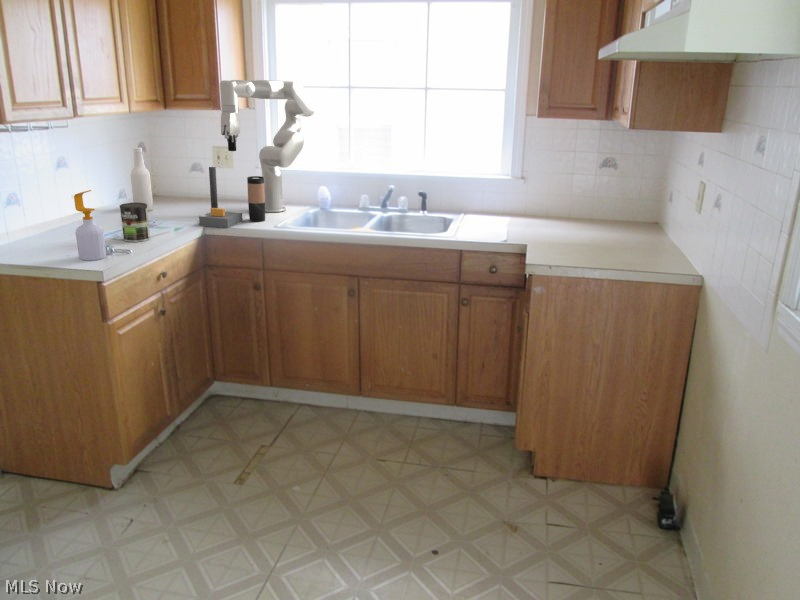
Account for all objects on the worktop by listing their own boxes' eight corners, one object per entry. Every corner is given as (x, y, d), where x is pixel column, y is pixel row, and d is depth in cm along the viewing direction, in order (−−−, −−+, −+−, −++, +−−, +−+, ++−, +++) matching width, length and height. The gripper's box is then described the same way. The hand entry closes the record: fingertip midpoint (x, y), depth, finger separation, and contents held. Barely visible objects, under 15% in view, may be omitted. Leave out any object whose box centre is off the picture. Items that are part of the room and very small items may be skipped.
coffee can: (142, 243, 256) (138, 208, 251) (118, 241, 257) (114, 206, 252) (155, 237, 266) (152, 203, 261) (132, 235, 267) (128, 201, 262)
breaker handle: (213, 214, 290) (212, 207, 289) (225, 215, 289) (224, 208, 288) (211, 215, 289) (210, 208, 288) (223, 216, 287) (222, 209, 286)
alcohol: (147, 212, 310) (141, 149, 301) (130, 211, 312) (123, 148, 302) (157, 208, 319) (151, 147, 309) (140, 207, 320) (133, 146, 310)
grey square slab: (215, 219, 300) (214, 210, 299) (242, 221, 297) (242, 212, 296) (199, 225, 288) (198, 216, 286) (227, 227, 285) (227, 218, 283)
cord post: (211, 214, 310) (208, 165, 303) (226, 215, 309) (224, 166, 301) (203, 217, 303) (199, 167, 295) (218, 218, 301) (215, 169, 294)
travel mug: (267, 219, 304) (266, 176, 298) (262, 222, 297) (261, 178, 290) (252, 218, 305) (250, 175, 298) (246, 221, 298) (244, 178, 291)
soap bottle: (96, 261, 229) (87, 193, 221) (73, 259, 231) (63, 191, 223) (111, 255, 238) (103, 189, 230) (89, 253, 239) (80, 187, 231)
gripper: (230, 108, 297) (232, 148, 303) (214, 109, 283) (216, 152, 289) (245, 109, 295) (247, 149, 301) (229, 110, 281) (231, 153, 287)
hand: (232, 150), depth 295 cm, fingers closed
